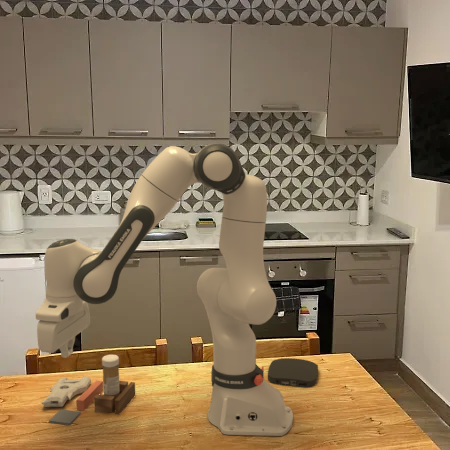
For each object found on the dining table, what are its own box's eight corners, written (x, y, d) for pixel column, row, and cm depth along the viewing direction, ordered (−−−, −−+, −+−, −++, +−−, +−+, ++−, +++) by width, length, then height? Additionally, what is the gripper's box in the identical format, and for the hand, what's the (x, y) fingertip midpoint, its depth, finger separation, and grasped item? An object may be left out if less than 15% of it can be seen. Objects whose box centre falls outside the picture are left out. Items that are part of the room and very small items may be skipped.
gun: (76, 398, 155) (38, 398, 155) (76, 410, 156) (39, 410, 156) (92, 372, 173) (58, 372, 173) (92, 383, 174) (59, 383, 174)
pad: (81, 413, 155) (80, 411, 154) (70, 425, 149) (69, 423, 149) (60, 411, 156) (60, 409, 156) (48, 422, 150) (48, 420, 150)
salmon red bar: (103, 390, 167) (102, 381, 167) (83, 411, 156) (83, 400, 155) (96, 389, 168) (96, 380, 167) (76, 410, 156) (76, 399, 156)
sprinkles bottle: (104, 399, 162) (102, 354, 160) (120, 398, 163) (118, 353, 160) (103, 407, 158) (101, 361, 155) (120, 406, 159) (118, 360, 156)
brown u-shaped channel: (135, 395, 165) (134, 382, 164) (119, 414, 154) (118, 400, 153) (112, 392, 166) (111, 379, 166) (94, 411, 156) (94, 397, 155)
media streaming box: (318, 368, 183) (319, 359, 182) (315, 390, 169) (315, 380, 168) (272, 364, 186) (273, 355, 185) (265, 384, 172) (265, 375, 171)
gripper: (73, 290, 156) (75, 339, 159) (31, 315, 137) (34, 370, 139) (95, 292, 155) (96, 341, 157) (55, 318, 135) (58, 373, 138)
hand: (67, 355), depth 148 cm, fingers closed
